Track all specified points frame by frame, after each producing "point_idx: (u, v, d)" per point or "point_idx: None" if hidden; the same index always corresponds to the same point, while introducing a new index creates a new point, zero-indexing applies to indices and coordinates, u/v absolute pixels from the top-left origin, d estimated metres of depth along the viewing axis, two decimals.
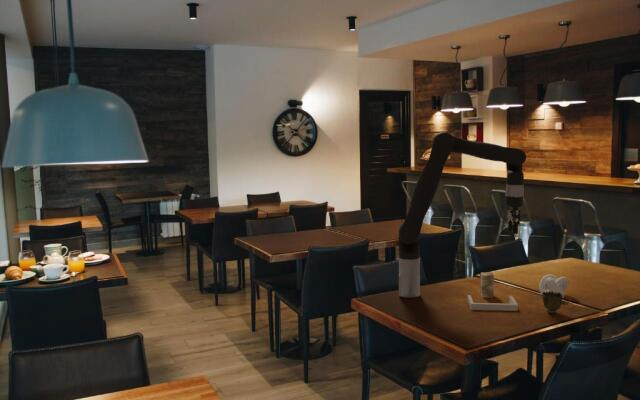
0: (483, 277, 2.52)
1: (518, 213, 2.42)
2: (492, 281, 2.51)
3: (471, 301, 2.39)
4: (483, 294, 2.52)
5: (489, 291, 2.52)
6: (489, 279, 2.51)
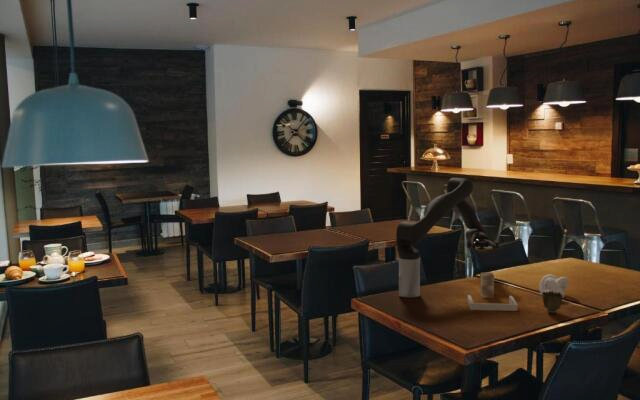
0: (483, 277, 2.52)
1: None
2: (492, 281, 2.51)
3: (471, 301, 2.39)
4: (483, 294, 2.52)
5: (489, 291, 2.52)
6: (489, 279, 2.51)
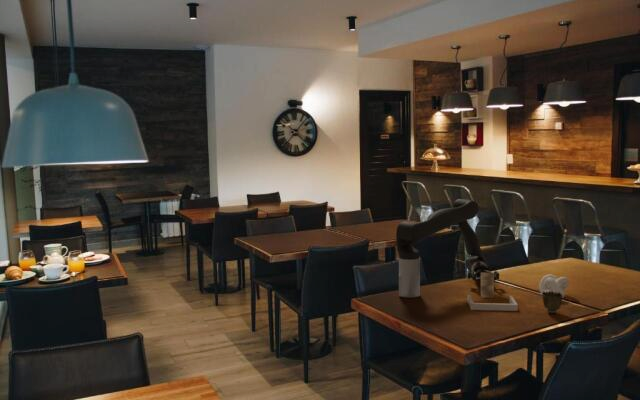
0: (483, 277, 2.52)
1: None
2: (492, 281, 2.51)
3: (471, 301, 2.39)
4: (483, 294, 2.52)
5: (489, 291, 2.52)
6: (489, 279, 2.51)
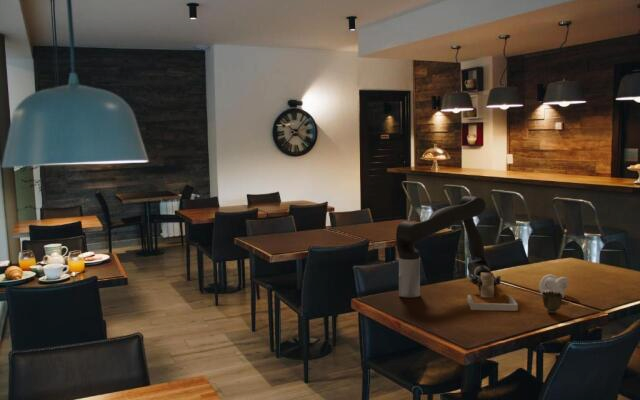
0: (483, 277, 2.52)
1: (500, 280, 2.59)
2: (492, 281, 2.51)
3: (471, 301, 2.39)
4: (483, 294, 2.52)
5: (489, 290, 2.52)
6: (489, 279, 2.51)
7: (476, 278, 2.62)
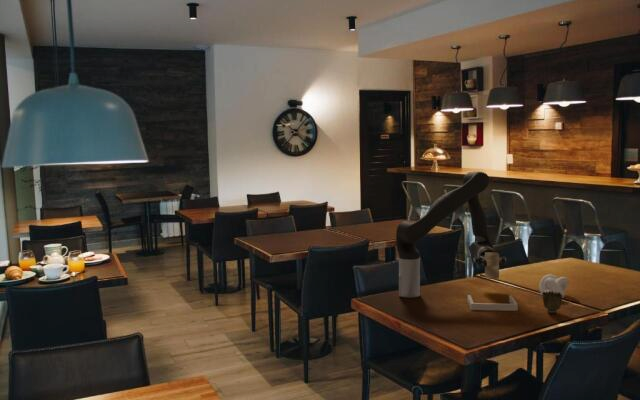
0: (488, 257, 2.37)
1: (505, 260, 2.45)
2: (497, 261, 2.37)
3: (471, 301, 2.39)
4: (488, 275, 2.38)
5: (494, 271, 2.38)
6: (494, 258, 2.37)
7: (480, 259, 2.47)
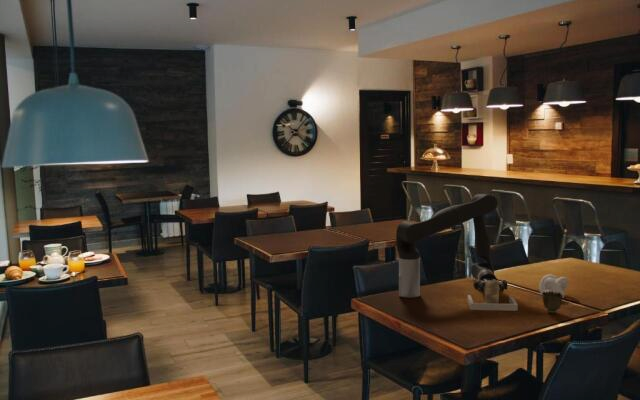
0: (487, 285, 2.38)
1: None
2: (497, 290, 2.38)
3: (471, 301, 2.39)
4: None
5: (494, 300, 2.38)
6: (493, 287, 2.38)
7: (479, 283, 2.48)
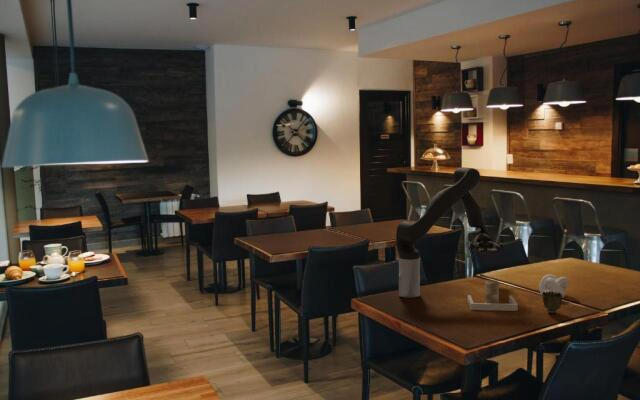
0: (487, 285, 2.38)
1: None
2: (497, 290, 2.38)
3: (471, 301, 2.39)
4: None
5: (494, 300, 2.38)
6: (493, 287, 2.38)
7: None
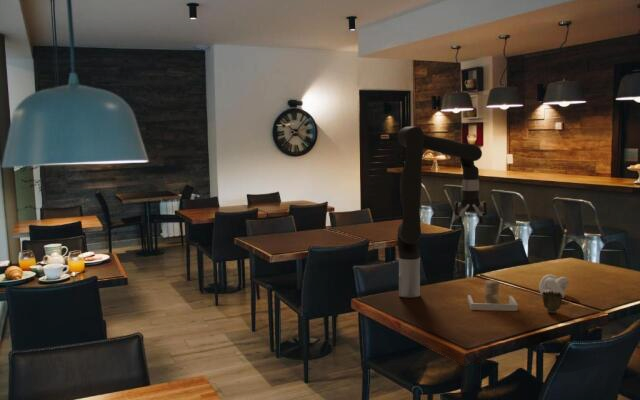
0: (487, 285, 2.38)
1: (485, 204, 2.64)
2: (497, 290, 2.38)
3: (471, 301, 2.39)
4: None
5: (494, 300, 2.38)
6: (493, 287, 2.38)
7: None
